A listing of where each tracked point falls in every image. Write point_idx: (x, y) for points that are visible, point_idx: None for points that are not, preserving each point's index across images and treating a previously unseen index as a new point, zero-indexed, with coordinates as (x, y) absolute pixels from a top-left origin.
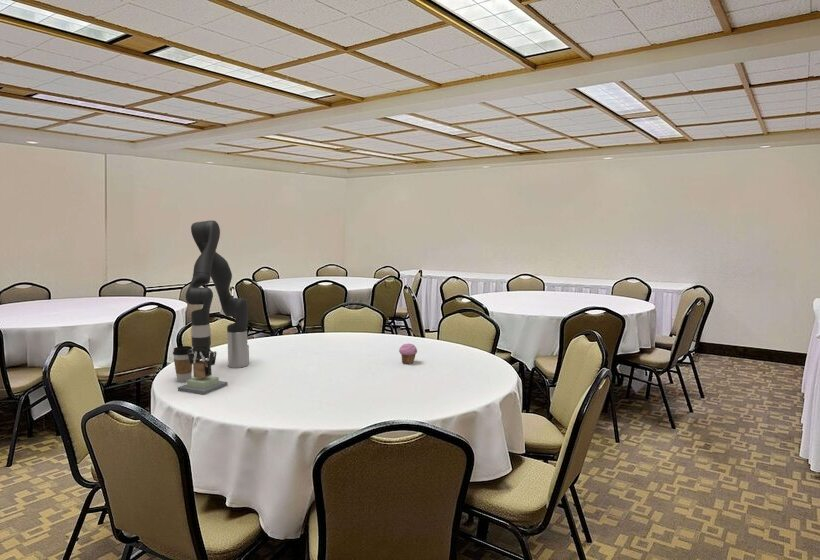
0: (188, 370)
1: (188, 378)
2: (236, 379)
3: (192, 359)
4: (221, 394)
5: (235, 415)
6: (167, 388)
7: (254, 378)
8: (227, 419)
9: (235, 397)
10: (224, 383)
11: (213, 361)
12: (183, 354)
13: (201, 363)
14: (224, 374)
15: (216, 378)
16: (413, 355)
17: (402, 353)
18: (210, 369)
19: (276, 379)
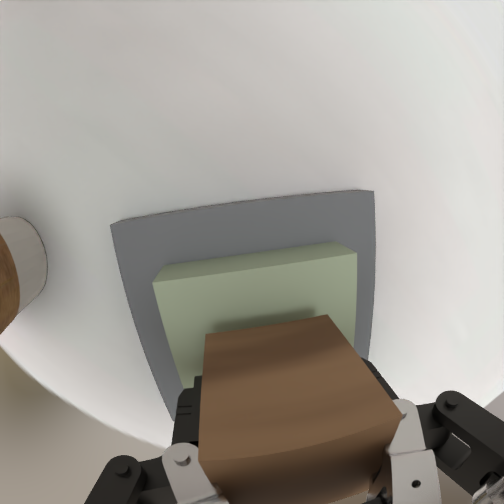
0: (6, 288)
1: (38, 266)
2: (303, 51)
3: (101, 489)
4: (421, 325)
5: (494, 382)
6: (96, 396)
7: (376, 15)
8: (485, 402)
9: (474, 311)
10: (374, 225)
11: (466, 423)
12: None
13: (341, 494)
14: (128, 19)
15: (355, 279)
16: None
17: None
18: (386, 387)
19: (454, 26)
